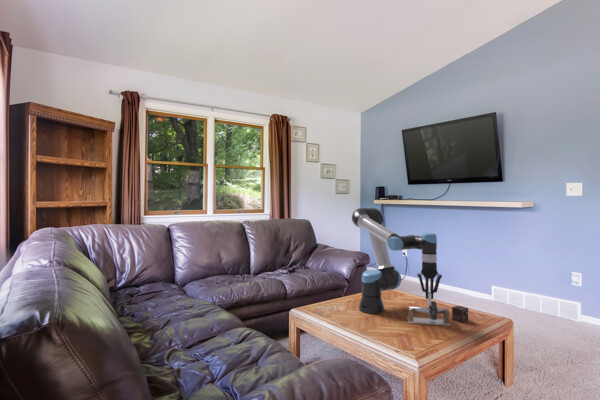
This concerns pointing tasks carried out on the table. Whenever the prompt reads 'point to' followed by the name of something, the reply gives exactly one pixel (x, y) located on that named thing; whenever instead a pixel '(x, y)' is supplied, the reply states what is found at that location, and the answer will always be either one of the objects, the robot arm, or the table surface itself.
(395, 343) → the table surface
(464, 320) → the box
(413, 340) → the table surface
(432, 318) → the grey hex nut
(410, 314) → the pipe rig
